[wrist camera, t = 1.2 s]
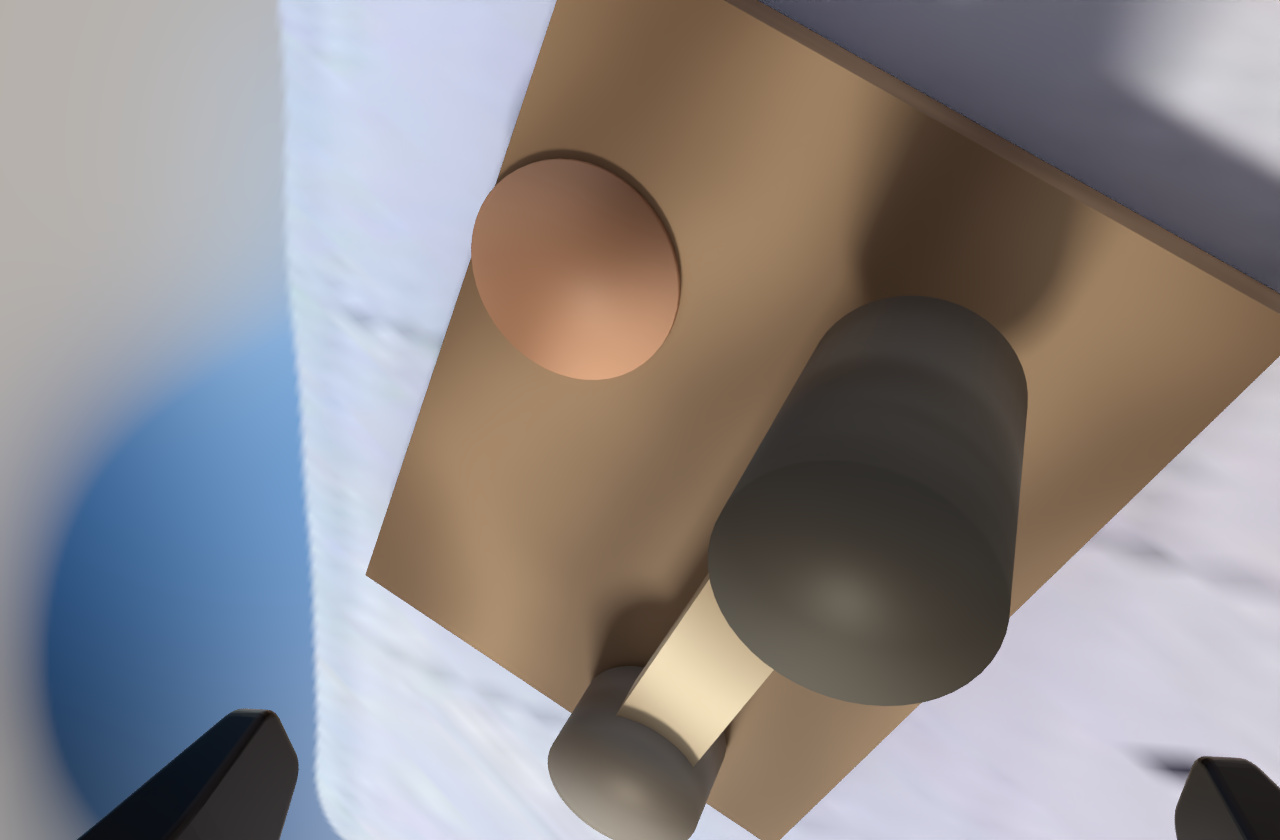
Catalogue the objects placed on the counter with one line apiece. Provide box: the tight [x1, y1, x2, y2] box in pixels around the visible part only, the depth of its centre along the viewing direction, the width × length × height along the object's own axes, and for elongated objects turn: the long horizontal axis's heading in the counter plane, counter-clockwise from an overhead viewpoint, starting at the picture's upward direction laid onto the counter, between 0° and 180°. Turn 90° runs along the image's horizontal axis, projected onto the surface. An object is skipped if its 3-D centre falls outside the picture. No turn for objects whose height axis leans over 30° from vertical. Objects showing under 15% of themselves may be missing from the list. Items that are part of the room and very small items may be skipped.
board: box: [366, 0, 1280, 840], centre depth 23 cm, size 15×20×2 cm
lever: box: [548, 296, 1028, 840], centre depth 20 cm, size 18×4×8 cm, turn 156°
